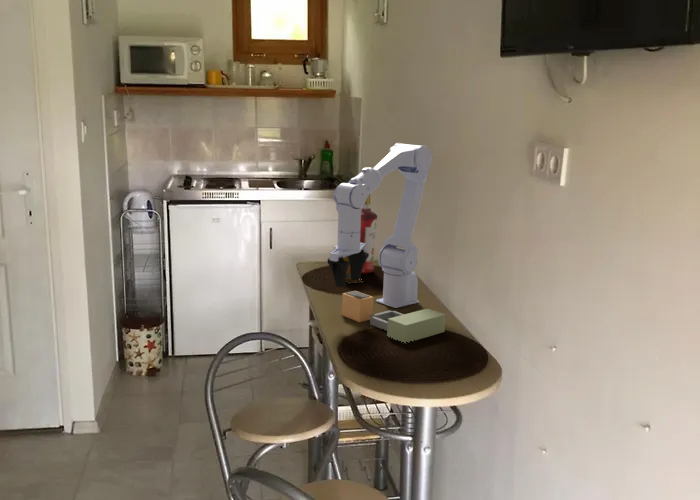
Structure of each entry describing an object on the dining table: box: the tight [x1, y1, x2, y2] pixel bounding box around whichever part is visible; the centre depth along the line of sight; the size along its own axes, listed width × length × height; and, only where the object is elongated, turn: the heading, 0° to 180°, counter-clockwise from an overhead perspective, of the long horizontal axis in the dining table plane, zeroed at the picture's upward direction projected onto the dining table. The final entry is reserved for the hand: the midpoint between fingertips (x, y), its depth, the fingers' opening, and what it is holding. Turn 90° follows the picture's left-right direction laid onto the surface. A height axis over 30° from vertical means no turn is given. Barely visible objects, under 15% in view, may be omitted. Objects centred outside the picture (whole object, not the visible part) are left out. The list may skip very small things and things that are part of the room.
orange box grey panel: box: [341, 290, 374, 323], centre depth 185 cm, size 4×7×6 cm, turn 41°
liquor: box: [360, 193, 378, 275], centre depth 227 cm, size 7×7×28 cm
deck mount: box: [369, 307, 447, 344], centre depth 177 cm, size 14×16×4 cm
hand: (347, 283), depth 182 cm, fingers open, 7 cm apart
